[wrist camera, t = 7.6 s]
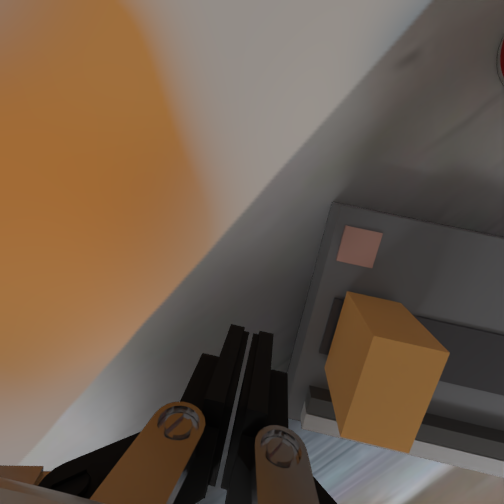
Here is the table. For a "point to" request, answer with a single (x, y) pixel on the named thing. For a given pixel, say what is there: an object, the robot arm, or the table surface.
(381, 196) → the table surface
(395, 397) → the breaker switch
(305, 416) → the panel
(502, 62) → the soda can
